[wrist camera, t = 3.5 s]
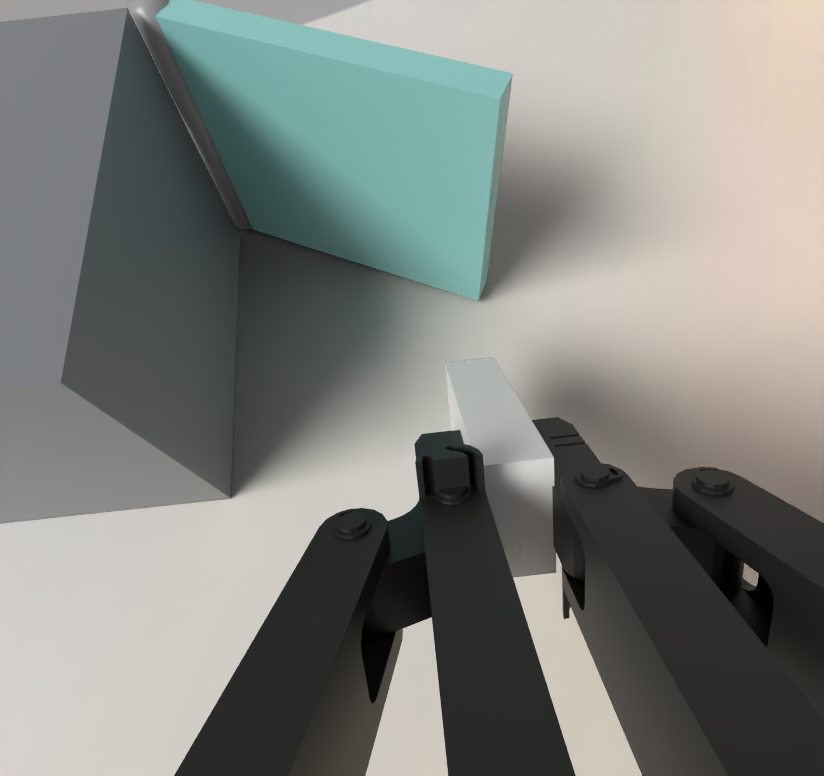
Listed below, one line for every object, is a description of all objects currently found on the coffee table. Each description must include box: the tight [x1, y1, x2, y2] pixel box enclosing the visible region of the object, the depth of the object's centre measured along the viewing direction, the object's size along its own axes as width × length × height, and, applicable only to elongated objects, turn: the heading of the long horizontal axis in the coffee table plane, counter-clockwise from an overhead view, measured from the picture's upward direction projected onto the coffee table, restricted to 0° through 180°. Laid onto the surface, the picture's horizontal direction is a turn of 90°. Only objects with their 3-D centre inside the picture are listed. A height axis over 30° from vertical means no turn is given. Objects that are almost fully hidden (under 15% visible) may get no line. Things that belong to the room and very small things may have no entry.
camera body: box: [0, 8, 240, 523], centre depth 18 cm, size 9×14×11 cm, turn 6°
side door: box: [126, 0, 512, 301], centre depth 20 cm, size 12×2×10 cm, turn 68°
